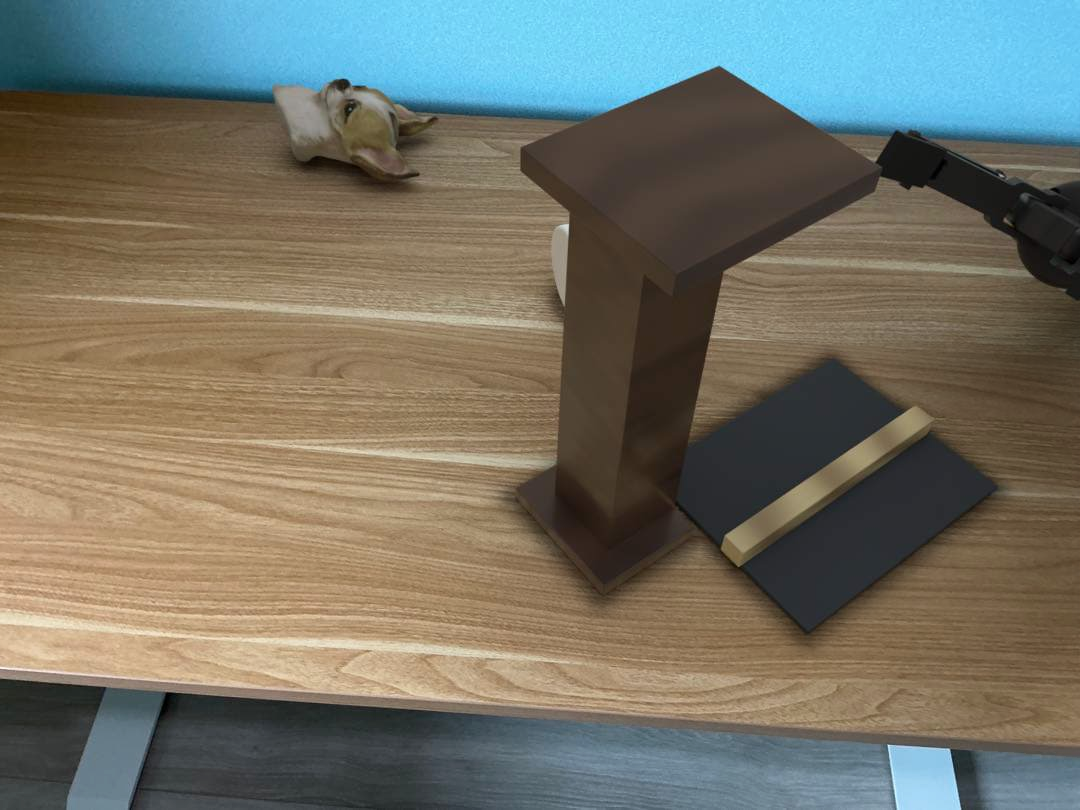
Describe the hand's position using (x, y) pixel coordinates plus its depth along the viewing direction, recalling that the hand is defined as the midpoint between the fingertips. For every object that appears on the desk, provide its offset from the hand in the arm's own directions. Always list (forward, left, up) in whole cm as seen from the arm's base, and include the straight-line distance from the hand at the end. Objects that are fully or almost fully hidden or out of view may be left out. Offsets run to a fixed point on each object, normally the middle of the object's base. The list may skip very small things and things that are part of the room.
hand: (980, 210), depth 56 cm
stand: (+8, +15, -23) cm, 29 cm away
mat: (+1, +4, -23) cm, 24 cm away
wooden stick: (0, +4, -23) cm, 23 cm away
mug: (+23, +4, -24) cm, 33 cm away
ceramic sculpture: (+56, +12, -24) cm, 61 cm away
